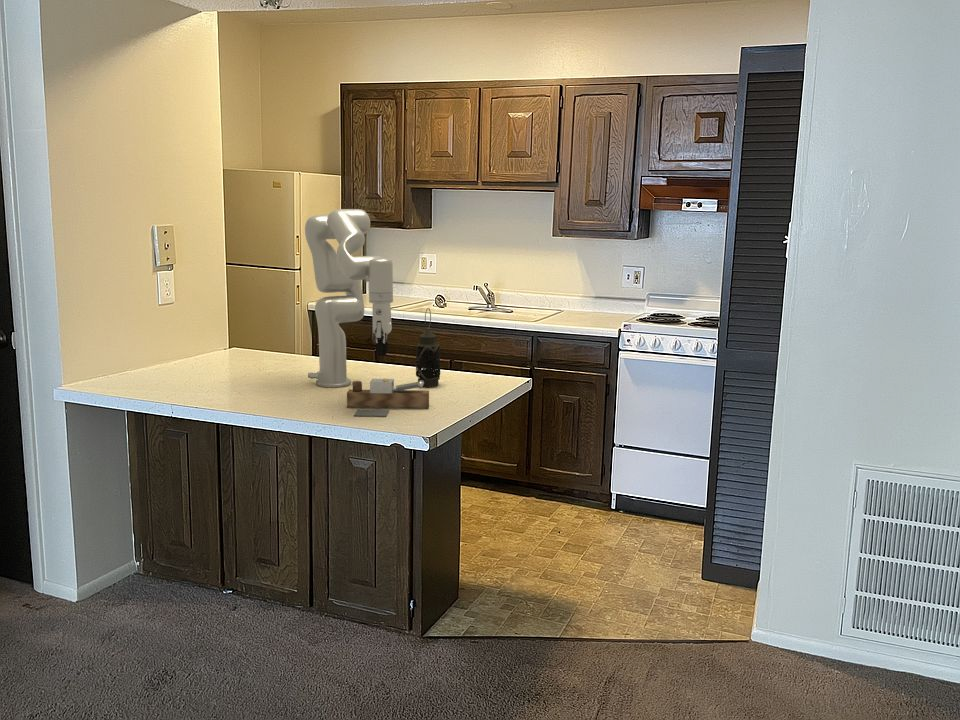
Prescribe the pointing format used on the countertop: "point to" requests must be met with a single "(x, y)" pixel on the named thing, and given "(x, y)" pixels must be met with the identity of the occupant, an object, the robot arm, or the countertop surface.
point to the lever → (409, 386)
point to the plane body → (386, 398)
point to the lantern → (428, 359)
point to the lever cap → (381, 385)
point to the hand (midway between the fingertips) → (381, 354)
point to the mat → (371, 413)
